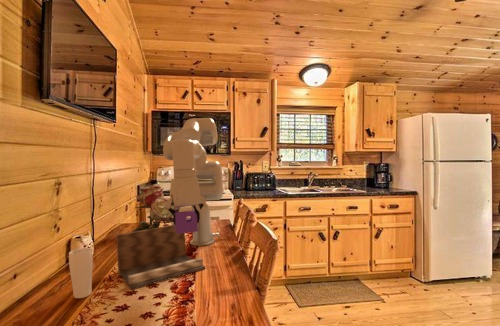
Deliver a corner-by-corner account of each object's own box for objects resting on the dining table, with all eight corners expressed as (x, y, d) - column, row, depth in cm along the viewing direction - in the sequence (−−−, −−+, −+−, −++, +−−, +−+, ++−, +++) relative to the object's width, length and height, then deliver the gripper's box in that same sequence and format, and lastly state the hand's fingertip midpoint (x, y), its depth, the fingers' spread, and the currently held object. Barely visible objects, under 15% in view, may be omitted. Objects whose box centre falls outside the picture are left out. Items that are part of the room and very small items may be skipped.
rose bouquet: (158, 240, 163) (155, 186, 162) (125, 235, 178) (122, 185, 178) (190, 229, 185) (188, 182, 184) (158, 225, 200) (156, 181, 199)
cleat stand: (184, 255, 134) (182, 223, 134) (205, 268, 117) (203, 231, 117) (118, 271, 118) (116, 234, 118) (131, 289, 101) (129, 246, 101)
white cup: (77, 291, 101) (75, 248, 101) (97, 290, 102) (95, 247, 102) (66, 301, 95) (64, 254, 94) (88, 299, 95) (86, 253, 95)
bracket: (197, 231, 100) (196, 211, 100) (177, 233, 98) (175, 213, 98) (192, 223, 112) (191, 205, 111) (174, 225, 109) (173, 207, 109)
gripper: (201, 172, 113) (204, 218, 114) (156, 175, 103) (159, 226, 103) (211, 172, 107) (213, 221, 107) (164, 176, 97) (167, 230, 97)
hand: (186, 223), depth 105 cm, fingers closed on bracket, 6 cm apart
